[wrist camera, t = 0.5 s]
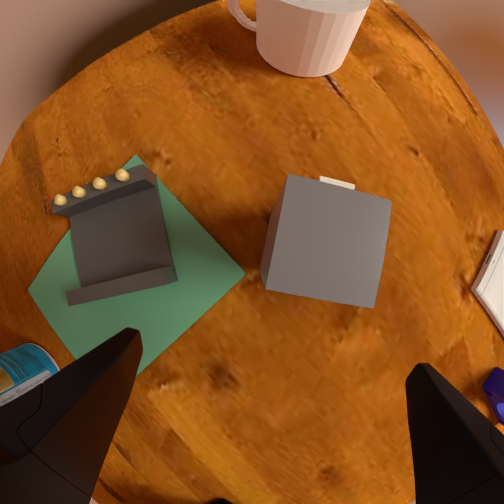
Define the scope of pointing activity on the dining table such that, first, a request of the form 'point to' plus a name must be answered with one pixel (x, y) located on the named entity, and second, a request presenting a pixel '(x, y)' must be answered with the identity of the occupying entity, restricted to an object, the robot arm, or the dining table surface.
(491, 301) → the hard drive
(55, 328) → the board
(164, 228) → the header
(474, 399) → the dining table surface
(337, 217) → the grey tall block
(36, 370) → the beverage bottle
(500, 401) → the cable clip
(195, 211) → the dining table surface
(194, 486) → the dining table surface
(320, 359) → the dining table surface
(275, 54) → the mug
